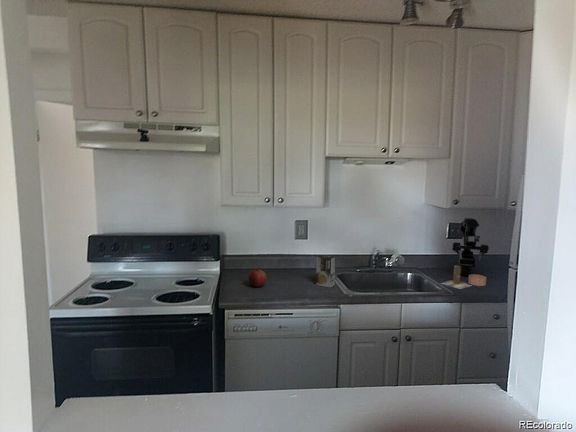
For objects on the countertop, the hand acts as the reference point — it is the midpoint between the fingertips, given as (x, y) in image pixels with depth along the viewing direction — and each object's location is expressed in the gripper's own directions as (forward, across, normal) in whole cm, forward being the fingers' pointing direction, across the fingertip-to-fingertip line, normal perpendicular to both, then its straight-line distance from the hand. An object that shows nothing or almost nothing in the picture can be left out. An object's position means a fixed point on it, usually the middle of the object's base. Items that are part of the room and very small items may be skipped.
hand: (469, 260), depth 220 cm
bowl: (+8, +5, +12) cm, 16 cm away
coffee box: (+34, -75, -19) cm, 85 cm away
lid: (+13, -6, +6) cm, 16 cm away
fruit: (+46, -108, -33) cm, 122 cm away
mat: (+14, -6, +6) cm, 16 cm away
